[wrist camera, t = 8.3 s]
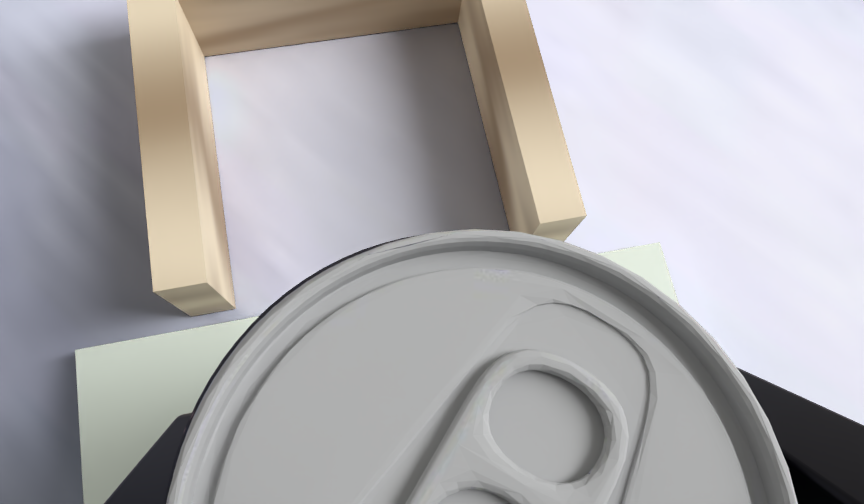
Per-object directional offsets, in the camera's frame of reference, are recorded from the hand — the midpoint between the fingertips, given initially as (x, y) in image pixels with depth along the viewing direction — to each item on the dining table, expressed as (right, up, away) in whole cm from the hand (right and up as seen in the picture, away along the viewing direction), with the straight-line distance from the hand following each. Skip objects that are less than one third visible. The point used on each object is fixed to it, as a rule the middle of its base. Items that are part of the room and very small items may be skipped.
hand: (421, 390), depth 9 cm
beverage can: (0, -4, +7) cm, 8 cm away
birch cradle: (-2, +5, +10) cm, 11 cm away
